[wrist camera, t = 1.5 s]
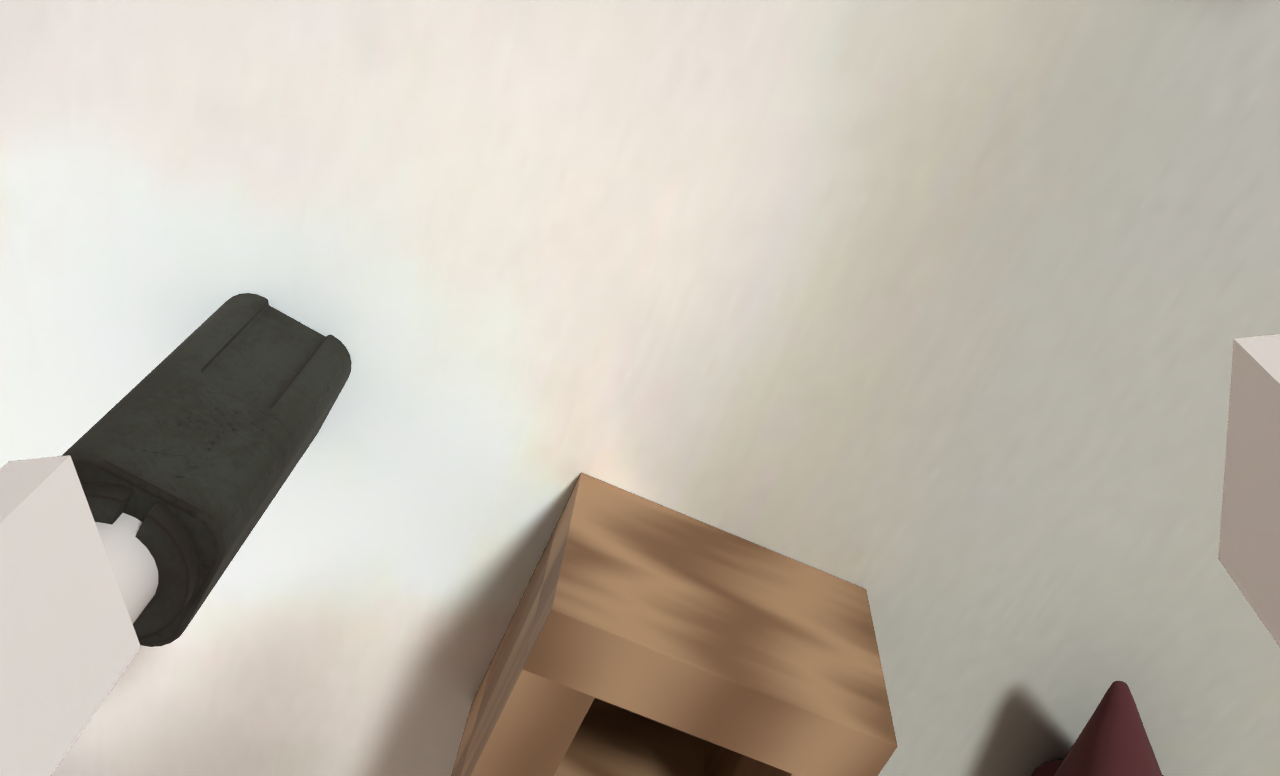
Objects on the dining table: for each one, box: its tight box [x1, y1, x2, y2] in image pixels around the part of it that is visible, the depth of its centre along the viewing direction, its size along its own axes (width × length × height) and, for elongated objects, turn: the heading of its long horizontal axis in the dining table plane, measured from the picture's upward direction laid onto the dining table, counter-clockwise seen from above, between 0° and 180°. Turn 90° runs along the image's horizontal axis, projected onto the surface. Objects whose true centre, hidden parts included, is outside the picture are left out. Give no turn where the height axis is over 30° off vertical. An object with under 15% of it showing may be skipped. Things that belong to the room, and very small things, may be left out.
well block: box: [451, 473, 897, 776], centre depth 45 cm, size 12×12×9 cm
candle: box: [62, 293, 351, 647], centre depth 33 cm, size 5×5×25 cm
